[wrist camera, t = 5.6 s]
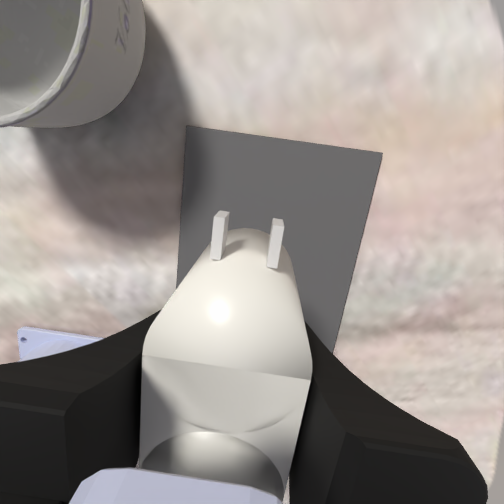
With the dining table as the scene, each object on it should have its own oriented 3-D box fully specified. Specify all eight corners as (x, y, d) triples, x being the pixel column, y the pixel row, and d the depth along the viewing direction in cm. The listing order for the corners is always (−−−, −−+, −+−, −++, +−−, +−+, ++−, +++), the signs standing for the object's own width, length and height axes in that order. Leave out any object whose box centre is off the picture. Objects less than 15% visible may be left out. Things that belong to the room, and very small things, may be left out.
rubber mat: (327, 369, 23) (327, 372, 23) (173, 346, 24) (172, 348, 23) (381, 152, 19) (382, 153, 18) (187, 126, 19) (186, 125, 18)
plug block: (270, 394, 15) (271, 548, 9) (189, 382, 15) (137, 526, 9) (306, 208, 12) (339, 255, 6) (205, 194, 12) (146, 227, 6)
